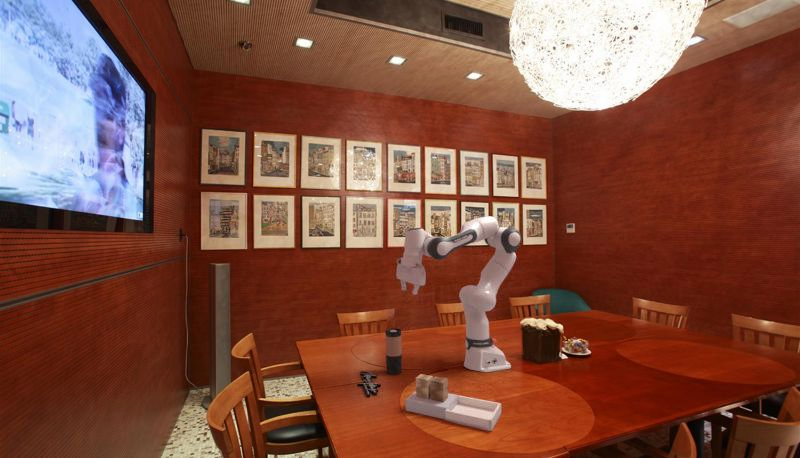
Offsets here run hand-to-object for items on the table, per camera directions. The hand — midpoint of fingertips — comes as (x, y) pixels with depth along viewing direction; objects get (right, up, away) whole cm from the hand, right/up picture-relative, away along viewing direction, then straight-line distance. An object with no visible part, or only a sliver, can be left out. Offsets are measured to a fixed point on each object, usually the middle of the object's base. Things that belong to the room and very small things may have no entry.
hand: (409, 292), depth 172 cm
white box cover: (+8, -38, -33) cm, 51 cm away
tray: (+22, -37, -41) cm, 59 cm away
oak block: (+5, -34, -32) cm, 47 cm away
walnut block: (+10, -34, -35) cm, 49 cm away
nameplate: (-18, -40, -9) cm, 44 cm away
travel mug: (-7, -39, +5) cm, 40 cm away
